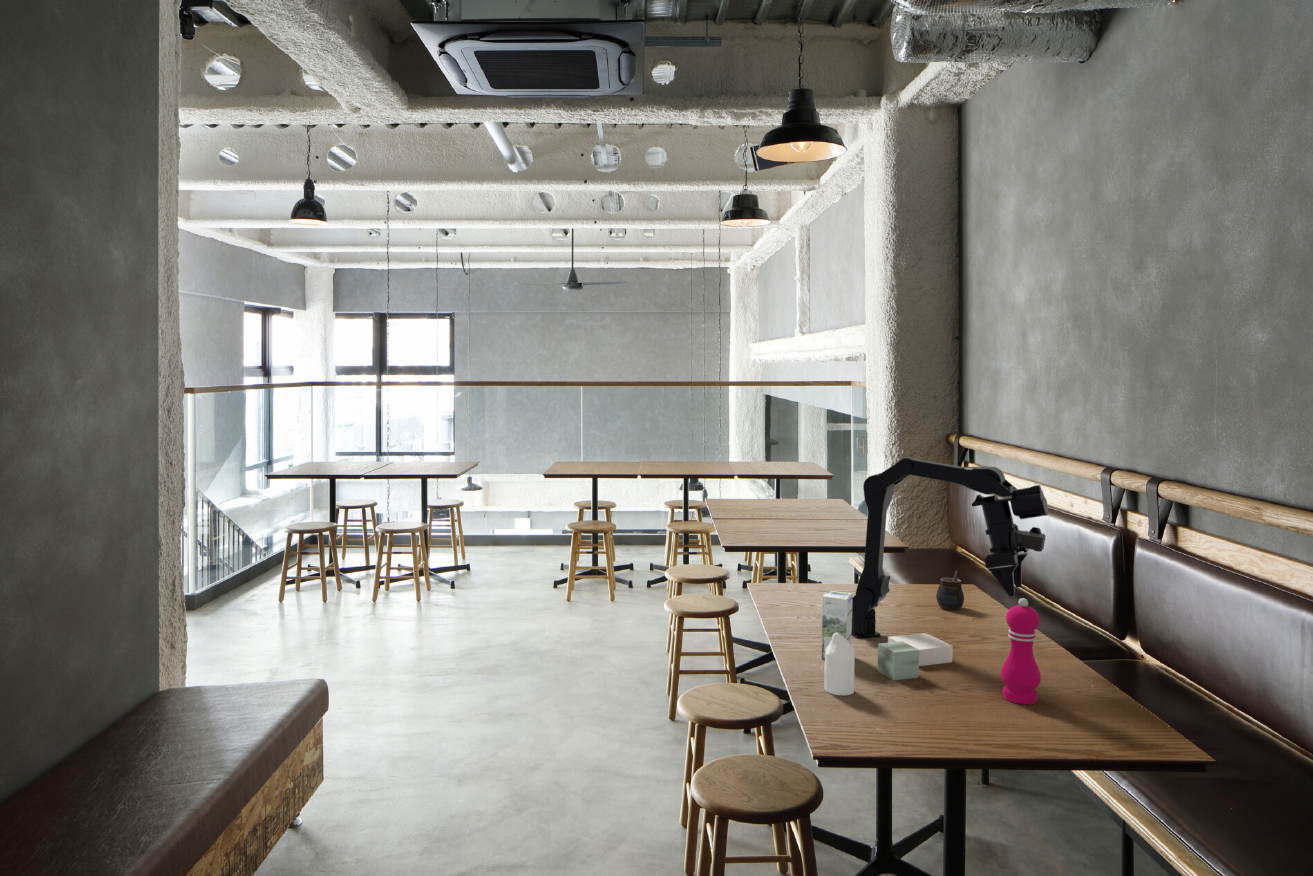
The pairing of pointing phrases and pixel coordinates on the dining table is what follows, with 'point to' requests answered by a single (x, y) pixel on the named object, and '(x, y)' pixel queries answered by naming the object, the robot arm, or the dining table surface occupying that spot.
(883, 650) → the green cube
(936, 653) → the cream block
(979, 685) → the dining table surface
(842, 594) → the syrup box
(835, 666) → the white bottle
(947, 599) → the mate gourd
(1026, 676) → the pepper mill
